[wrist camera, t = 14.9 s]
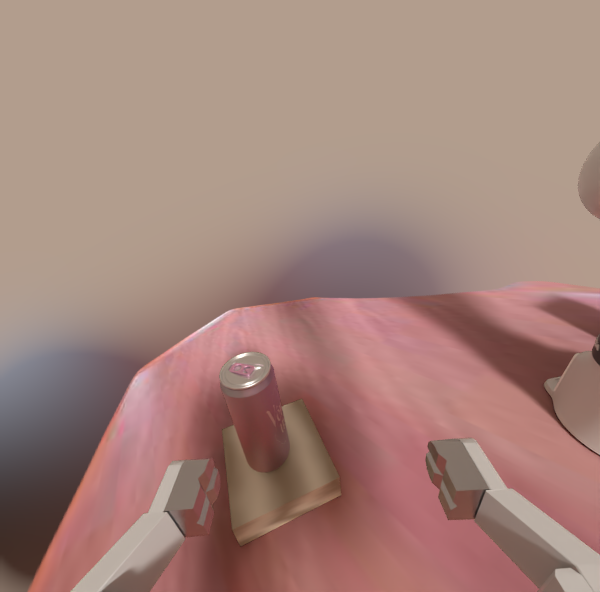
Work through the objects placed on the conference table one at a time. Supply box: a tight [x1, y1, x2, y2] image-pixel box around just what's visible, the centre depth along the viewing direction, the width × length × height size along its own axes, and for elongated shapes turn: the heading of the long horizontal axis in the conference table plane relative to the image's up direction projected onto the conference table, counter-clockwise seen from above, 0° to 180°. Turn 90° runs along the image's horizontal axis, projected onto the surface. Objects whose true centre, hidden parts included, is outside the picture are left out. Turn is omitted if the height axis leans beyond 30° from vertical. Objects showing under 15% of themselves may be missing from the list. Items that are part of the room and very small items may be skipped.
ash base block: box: [222, 399, 341, 546], centre depth 36 cm, size 13×13×4 cm
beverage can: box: [219, 352, 290, 473], centre depth 31 cm, size 6×6×15 cm
